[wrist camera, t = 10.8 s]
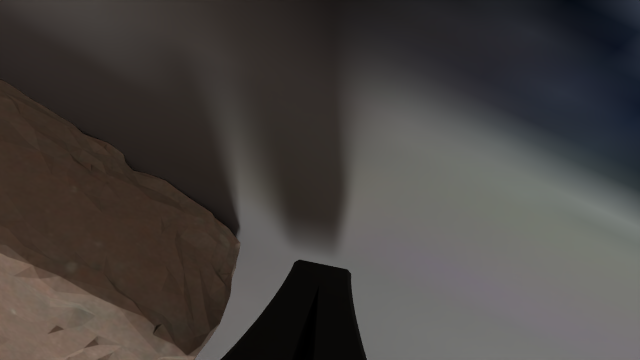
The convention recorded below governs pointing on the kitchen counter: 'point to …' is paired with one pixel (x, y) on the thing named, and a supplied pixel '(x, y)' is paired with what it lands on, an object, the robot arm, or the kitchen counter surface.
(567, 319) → the kitchen counter surface
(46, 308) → the brick
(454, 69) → the kitchen counter surface
